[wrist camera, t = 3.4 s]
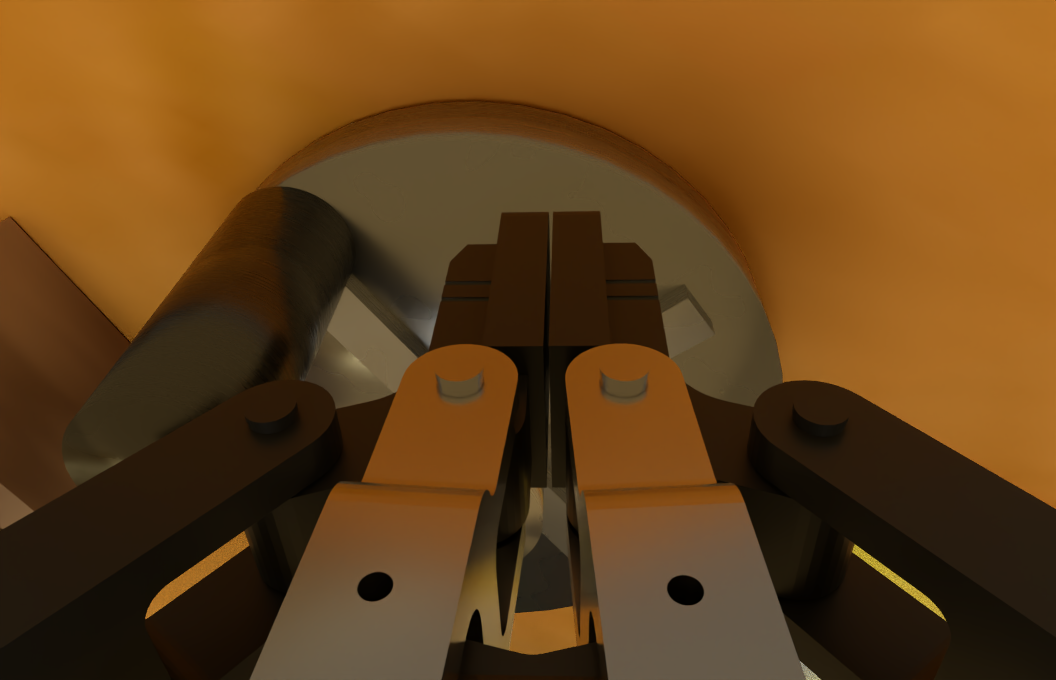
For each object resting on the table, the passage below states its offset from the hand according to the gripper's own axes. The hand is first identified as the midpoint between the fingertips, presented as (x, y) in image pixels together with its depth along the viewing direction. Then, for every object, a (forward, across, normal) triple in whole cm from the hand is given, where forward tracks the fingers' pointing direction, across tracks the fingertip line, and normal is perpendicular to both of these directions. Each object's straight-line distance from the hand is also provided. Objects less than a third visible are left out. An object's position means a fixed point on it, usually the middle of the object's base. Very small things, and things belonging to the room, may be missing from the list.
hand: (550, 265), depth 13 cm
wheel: (+5, +2, +5) cm, 7 cm away
